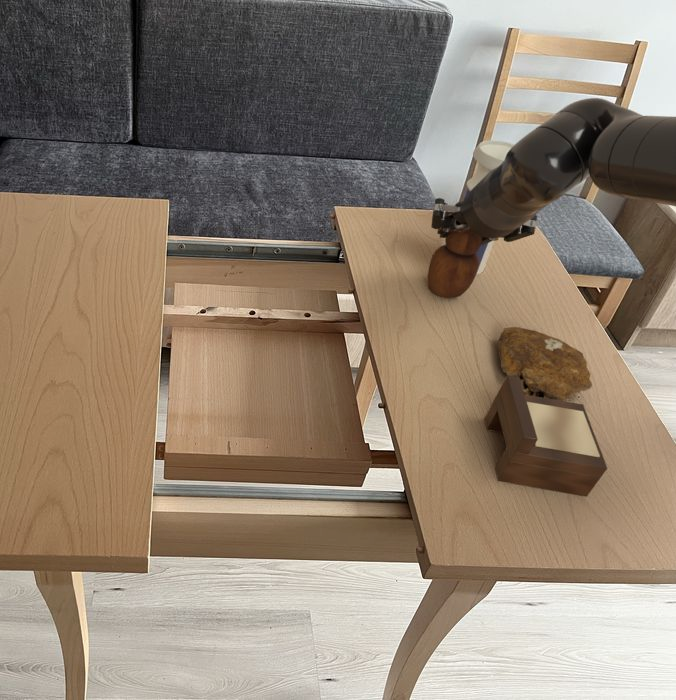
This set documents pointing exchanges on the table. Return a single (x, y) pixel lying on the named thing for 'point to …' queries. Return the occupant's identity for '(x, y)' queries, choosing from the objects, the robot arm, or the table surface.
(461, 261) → the wooden figurine
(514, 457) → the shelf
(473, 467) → the table surface
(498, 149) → the water bottle
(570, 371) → the decorative rock
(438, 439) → the table surface
